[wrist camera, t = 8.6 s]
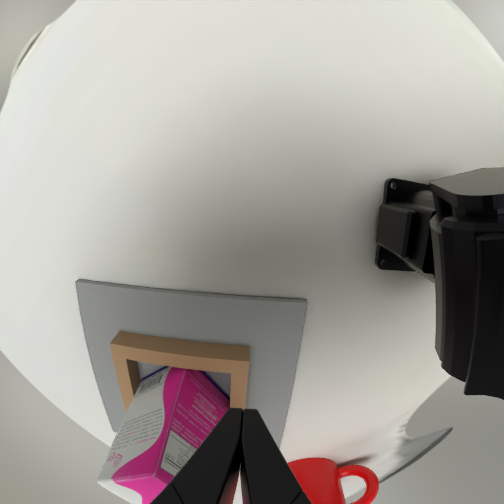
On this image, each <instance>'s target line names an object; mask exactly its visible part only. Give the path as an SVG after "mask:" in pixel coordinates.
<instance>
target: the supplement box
mask: <svg viewBox="0 0 504 504" xmlns="http://www.w3.org/2000/svg"><path fill="white" fill-rule="evenodd" d="M229 408H230V398H229V397H228V396H227V395H226V394H225V393H224V392H223V391H222V390H221V389H220V388H219V387H218V386H217V385H216V384H215V383H214V382H213V381H212V380H211V378H210V377H209V376H208V375H207V374H206V373H205V372H204V371H201V370H193V369H185V368H177V367H170V366H165V367H163V368H161V369H160V370H158V371H156V372H154V373H152V374H150V375H148V376H146V377H144V378H142V379H141V382H140V384H139V386H138V389H137V391H136V393H135V395H134V397H133V400H132V402H131V404H130V406H129V408H128V411H127V413H126V415H125V417H124V419H123V421H122V424H121V426H120V428H119V430H118V432H117V435H116V437H115V439H114V441H113V444H112V446H111V449H110V451H109V453H108V456H107V458H106V460H105V463H104V465H103V467H102V470H101V472H100V475H99V477H98V479H97V483H98V484H99V485H101V486H102V487H104V488H106V489H107V490H109V491H110V492H112V493H114V494H115V495H117V496H119V497H121V498H122V499H124V500H126V501H128V502H129V503H131V504H149V503H151V502H152V501H153V500H154V499H155V497H156V496H157V495H158V494H159V493H160V492H161V491H162V490H163V489H164V488H165V487H166V486H167V484H168V483H171V480H172V479H173V478H174V477H175V475H176V474H177V473H178V472H179V471H180V469H181V468H182V467H183V466H184V465H185V463H186V462H187V461H188V460H189V459H190V457H191V456H192V455H193V454H194V452H195V451H196V450H197V449H198V447H199V446H200V445H201V444H202V442H203V441H204V440H205V439H206V437H207V436H208V435H209V433H210V432H211V431H212V430H213V428H214V427H215V426H216V424H217V423H218V422H219V420H220V419H221V418H222V416H223V415H224V414H225V412H226V411H227V410H228V409H229Z"/></svg>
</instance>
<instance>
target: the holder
mask: <svg viewBox="0 0 504 504" xmlns="http://www.w3.org/2000/svg"><path fill="white" fill-rule="evenodd" d="M75 283H76V290H77V297H78V303H79V309H80V315H81V320H82V325H83V330H84V335H85V339H86V344H87V348H88V352H89V356H90V360H91V364H92V368H93V371H94V375H95V379H96V382H97V385H98V389H99V392H100V395H101V398H102V401H103V404H104V407H105V410H106V413H107V416H108V419H109V421H110V424H111V427H112V429H113V431H114V432H118V430H119V428H120V426H121V424H122V421H123V419H124V417H125V415H126V413H127V411H128V408H129V406H130V404H131V402H132V400H133V397H134V395H135V393H136V391H137V389H138V386H139V384H140V382H141V379H142V378H144V377H146V376H148V375H150V374H152V373H154V372H156V371H158V370H160V369H161V368H163V367H165V366H170V367H177V368H185V369H193V370H201V371H204V372H205V373H206V374H207V375H208V376H209V377H210V378H211V380H212V381H213V382H214V383H215V384H216V385H217V386H218V387H219V388H220V389H221V390H222V391H223V392H224V393H225V394H226V395H227V396H228V397H229V398H230V408H242V409H243V410H244V409H245V408H248V409H257V410H258V411H259V413H260V415H261V417H262V418H263V420H264V422H265V424H266V426H267V428H268V430H269V431H270V433H271V435H272V437H273V439H274V441H275V442H276V444H277V446H278V448H280V444H281V439H282V435H283V431H284V426H285V422H286V417H287V413H288V408H289V403H290V399H291V394H292V389H293V384H294V379H295V373H296V368H297V363H298V357H299V352H300V346H301V340H302V334H303V328H304V322H305V315H306V309H307V301H306V300H305V299H285V298H267V297H251V296H236V295H223V294H211V293H199V292H187V291H177V290H167V289H157V288H147V287H138V286H130V285H121V284H113V283H105V282H97V281H90V280H82V279H78V280H77V281H75Z"/></svg>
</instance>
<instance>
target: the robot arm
mask: <svg viewBox="0 0 504 504" xmlns="http://www.w3.org/2000/svg"><path fill="white" fill-rule="evenodd" d="M392 182H393V183H394V188H393V189H392V188H391V183H392ZM376 241H377V243H378V247H377V253H376V259H375V264H376V266H377V267H378V268H379V269H382V270H399V271H417V272H418V273H420V274H421V275H423V276H424V277H426V278H427V279H429V280H430V281H432V282H433V283H435V288H436V338H435V349H436V351H437V354H438V356H439V359H440V360H441V361H442V363H441V366H442V368H443V369H444V370H445V371H446V372H447V373H448V374H450V375H451V376H453V377H455V378H457V379H459V380H461V381H463V382H466V383H465V388H464V394H465V395H487V396H493V397H498V398H501V399H503V400H504V168H481V169H477V170H473V171H469V172H465V173H461V174H457V175H453V176H448V177H445V178H441V179H437V180H433V181H429V185H425V184H421V183H416V182H411V181H406V180H400V179H395V178H389V179H387V181H386V183H385V191H384V201H383V205H382V206H381V207H380V215H379V223H378V231H377V238H376ZM383 259H384V263H383V264H382V265H380V262H381V260H383ZM239 472H240V477H241V489H242V499H243V504H312V503H311V501H310V500H309V498H308V497H307V495H306V493H305V492H304V491H303V489H302V487H301V486H300V484H299V482H298V481H297V479H296V477H295V476H294V474H293V472H292V470H291V469H290V467H289V465H288V464H287V462H286V460H285V458H284V457H283V455H282V453H281V451H280V450H279V448H278V446H277V444H276V442H275V441H274V439H273V437H272V435H271V433H270V431H269V430H268V428H267V426H266V424H265V422H264V420H263V418H262V417H261V415H260V413H259V411H258V410H257V409H248V408H245V409H244V410H243V409H242V408H229V409H228V410H227V411H226V412H225V414H224V415H223V416H222V418H221V419H220V420H219V422H218V423H217V424H216V426H215V427H214V428H213V430H212V431H211V432H210V433H209V435H208V436H207V437H206V439H205V440H204V441H203V442H202V444H201V445H200V446H199V447H198V449H197V450H196V451H195V452H194V454H193V455H192V456H191V457H190V459H189V460H188V461H187V462H186V463H185V465H184V466H183V467H182V468H181V469H180V471H179V472H178V473H177V474H176V475H175V477H174V478H173V479H172V480H171V483H168V484H167V486H166V487H165V488H164V489H163V490H162V491H161V492H160V493H159V494H158V495H157V496H156V497H155V499H154V500H153V501H152V502H151V503H149V504H233V499H234V495H235V491H236V486H237V482H238V477H239Z"/></svg>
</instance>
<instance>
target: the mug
mask: <svg viewBox="0 0 504 504" xmlns="http://www.w3.org/2000/svg"><path fill="white" fill-rule="evenodd" d="M287 464H288V465H289V467H290V469H291V470H292V472H293V474H294V476H295V477H296V479H297V481H298V482H299V484H300V486H301V487H302V489H303V491H304V492H305V493H306V495H307V497H308V498H309V500H310V501H311V503H312V504H346V502H345V498H344V494H343V489H342V485H341V481H340V478H342V477H345V476H351V475H353V476H359V477H361V478H363V479H364V481H365V482H366V491H365V494H364V495H363V496H362V497H361V498H360V499H359V500H357V501H356V502H354V503H351V504H370V503H371V502H372V501H373V499H374V498H375V497H376V495H377V493H378V489H379V481H378V478H377V476H376V474H375V473H374V472H373V471H372V470H370V469H369V468H367V467H364V466H361V465H347V466H343V467H340V468H337V465H336V463H335V462H333V461H332V460H329V459H325V458H306V459H300V460H296V461H292V462H289V463H287Z"/></svg>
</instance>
